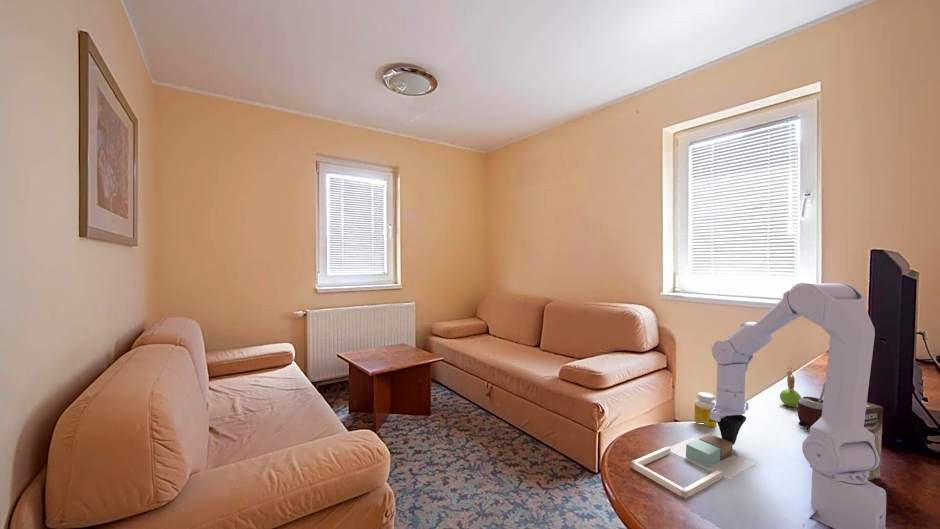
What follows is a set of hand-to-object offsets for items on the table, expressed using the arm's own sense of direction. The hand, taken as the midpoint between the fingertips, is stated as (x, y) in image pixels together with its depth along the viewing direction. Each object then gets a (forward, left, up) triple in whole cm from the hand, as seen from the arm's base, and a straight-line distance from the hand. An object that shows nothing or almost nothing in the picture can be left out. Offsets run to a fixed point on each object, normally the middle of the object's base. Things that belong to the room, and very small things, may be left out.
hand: (728, 443), depth 92 cm
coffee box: (-18, -15, -3) cm, 24 cm away
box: (0, +23, -2) cm, 23 cm away
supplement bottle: (+10, -9, -3) cm, 14 cm away
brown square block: (0, +6, -1) cm, 6 cm away
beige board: (0, +9, -2) cm, 9 cm away
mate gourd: (-5, -38, -3) cm, 38 cm away
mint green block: (0, +12, -1) cm, 12 cm away
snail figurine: (+5, -51, -3) cm, 51 cm away
